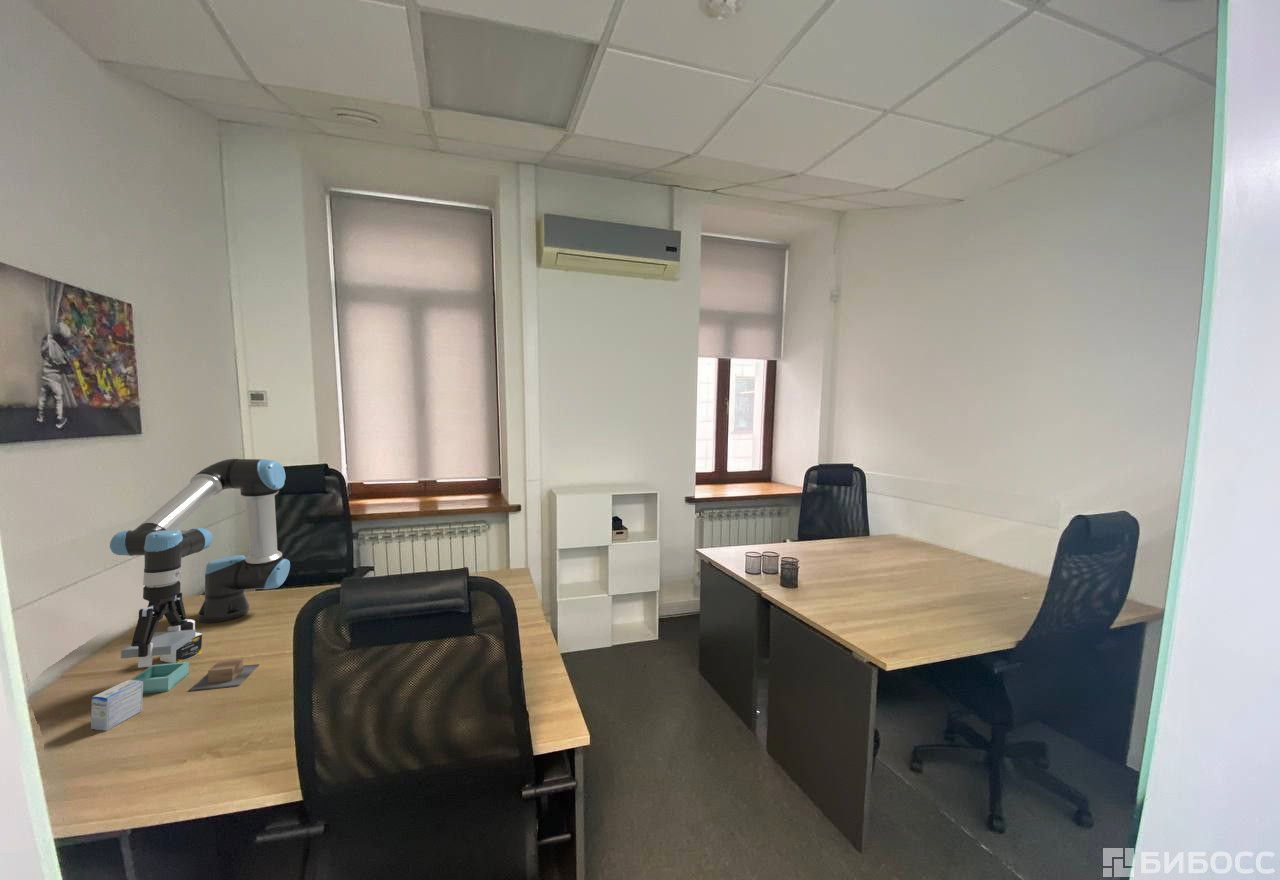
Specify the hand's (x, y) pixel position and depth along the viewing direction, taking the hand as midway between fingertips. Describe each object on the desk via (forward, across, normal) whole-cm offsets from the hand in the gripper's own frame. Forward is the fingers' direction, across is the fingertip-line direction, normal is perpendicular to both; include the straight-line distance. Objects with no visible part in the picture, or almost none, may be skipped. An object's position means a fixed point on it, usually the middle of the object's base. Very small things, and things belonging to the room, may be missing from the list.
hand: (159, 656), depth 131 cm
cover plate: (-3, 0, 0) cm, 3 cm away
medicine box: (+9, -17, -1) cm, 19 cm away
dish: (+9, 0, 0) cm, 9 cm away
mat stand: (+9, 0, -16) cm, 18 cm away
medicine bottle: (+9, +17, +4) cm, 20 cm away
